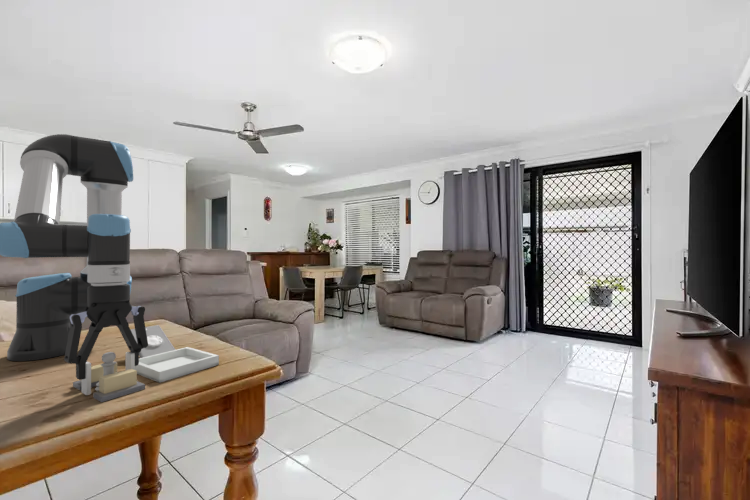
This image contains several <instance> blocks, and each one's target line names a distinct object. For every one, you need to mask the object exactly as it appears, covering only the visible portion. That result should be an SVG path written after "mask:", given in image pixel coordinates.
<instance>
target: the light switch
mask: <svg viewBox="0 0 750 500" xmlns="http://www.w3.org/2000/svg"><path fill="white" fill-rule="evenodd" d="M145 328H146V335H147V341H148V346H147V347H146V348H143V349H141V352H140V353H139V358H143V357H147V356H152V355H156V354H160V353H164V352H168V351H173V350H176V348H175V347H174V345H173V344H172V342H171V341H170V339H169V338H168V336H167V335H166V333H165V331H164V329H162V327H161V326H160V324H157V325H150V326H145ZM130 330H131V332H132V334H133V336H134V338H135V340H136V342H137V338H136V332H135V328H132V329H131V328H130Z"/></svg>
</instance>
